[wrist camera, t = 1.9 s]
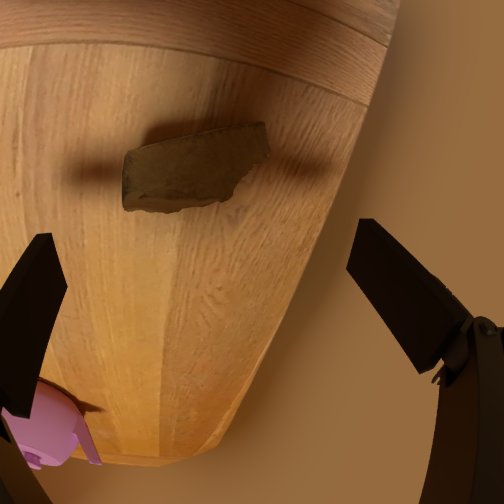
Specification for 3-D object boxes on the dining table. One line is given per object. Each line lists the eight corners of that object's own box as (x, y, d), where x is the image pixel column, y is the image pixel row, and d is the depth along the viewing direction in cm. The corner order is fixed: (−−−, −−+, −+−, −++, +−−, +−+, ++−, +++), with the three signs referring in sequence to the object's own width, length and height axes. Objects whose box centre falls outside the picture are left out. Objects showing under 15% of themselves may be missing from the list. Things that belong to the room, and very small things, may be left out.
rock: (300, 92, 17) (143, 58, 13) (333, 208, 15) (119, 186, 10) (237, 177, 26) (125, 166, 22) (247, 269, 24) (117, 267, 20)
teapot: (9, 410, 34) (0, 465, 24) (-31, 359, 26) (-51, 424, 16) (113, 427, 40) (114, 490, 30) (90, 380, 32) (83, 464, 22)
